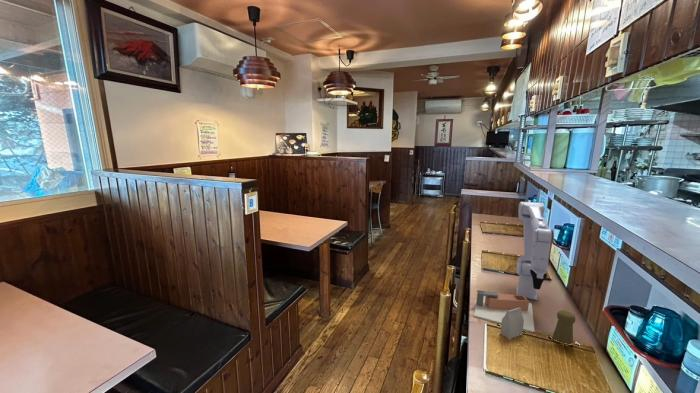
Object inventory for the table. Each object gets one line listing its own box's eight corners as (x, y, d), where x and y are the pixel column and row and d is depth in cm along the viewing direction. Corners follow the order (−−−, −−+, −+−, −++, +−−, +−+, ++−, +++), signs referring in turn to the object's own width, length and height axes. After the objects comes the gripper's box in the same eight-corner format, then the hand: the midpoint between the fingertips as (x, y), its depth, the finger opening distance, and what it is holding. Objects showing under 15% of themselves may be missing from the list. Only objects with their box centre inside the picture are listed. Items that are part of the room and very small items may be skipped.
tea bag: (522, 334, 105) (525, 310, 103) (509, 339, 102) (512, 314, 101) (513, 329, 108) (515, 305, 107) (500, 333, 106) (503, 309, 104)
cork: (576, 347, 98) (581, 318, 96) (557, 345, 100) (561, 316, 98) (567, 336, 104) (571, 308, 102) (549, 334, 105) (552, 307, 103)
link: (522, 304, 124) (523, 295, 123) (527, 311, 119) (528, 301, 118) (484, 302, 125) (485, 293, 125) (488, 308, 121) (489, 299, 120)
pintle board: (478, 292, 135) (479, 279, 134) (531, 304, 125) (532, 290, 124) (473, 316, 116) (474, 301, 115) (534, 333, 106) (536, 317, 105)
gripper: (527, 250, 124) (524, 279, 126) (529, 261, 111) (525, 293, 114) (547, 253, 121) (543, 283, 123) (551, 264, 108) (547, 298, 110)
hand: (536, 288), depth 118 cm, fingers closed
